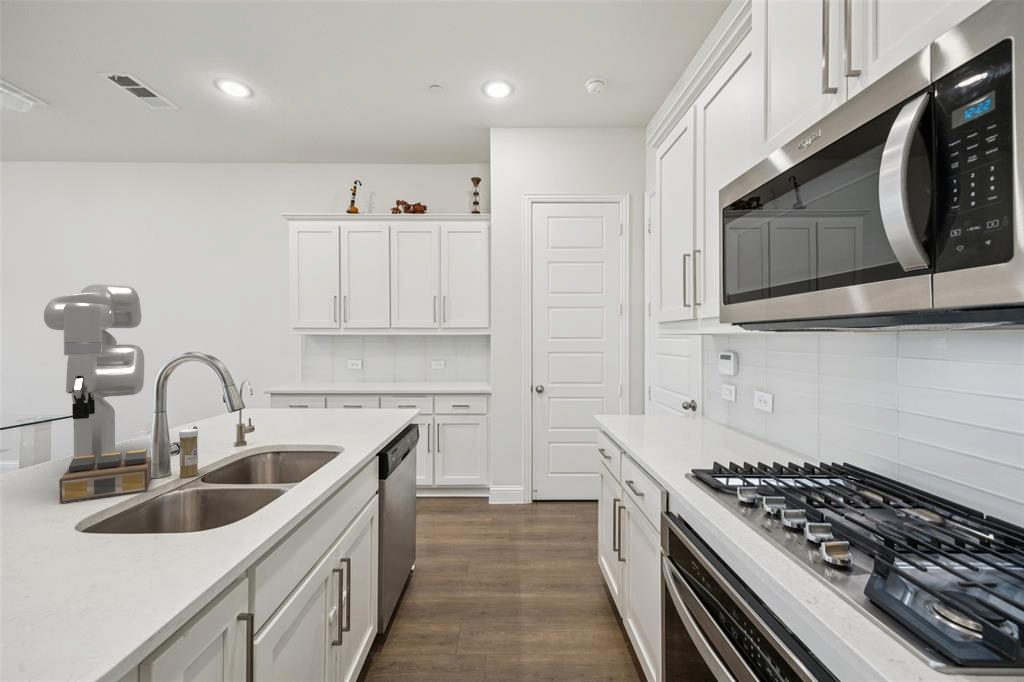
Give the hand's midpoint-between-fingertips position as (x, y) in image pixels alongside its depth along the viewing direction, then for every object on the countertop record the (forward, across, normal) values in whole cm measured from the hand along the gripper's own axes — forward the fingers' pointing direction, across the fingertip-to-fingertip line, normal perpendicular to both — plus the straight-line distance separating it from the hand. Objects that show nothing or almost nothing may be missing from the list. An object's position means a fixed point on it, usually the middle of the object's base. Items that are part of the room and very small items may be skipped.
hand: (84, 415), depth 127 cm
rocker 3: (+13, +2, +11) cm, 17 cm away
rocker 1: (+13, +2, 0) cm, 13 cm away
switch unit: (+20, +4, +6) cm, 21 cm away
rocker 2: (+13, +2, +6) cm, 14 cm away
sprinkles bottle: (+20, 0, +23) cm, 30 cm away
